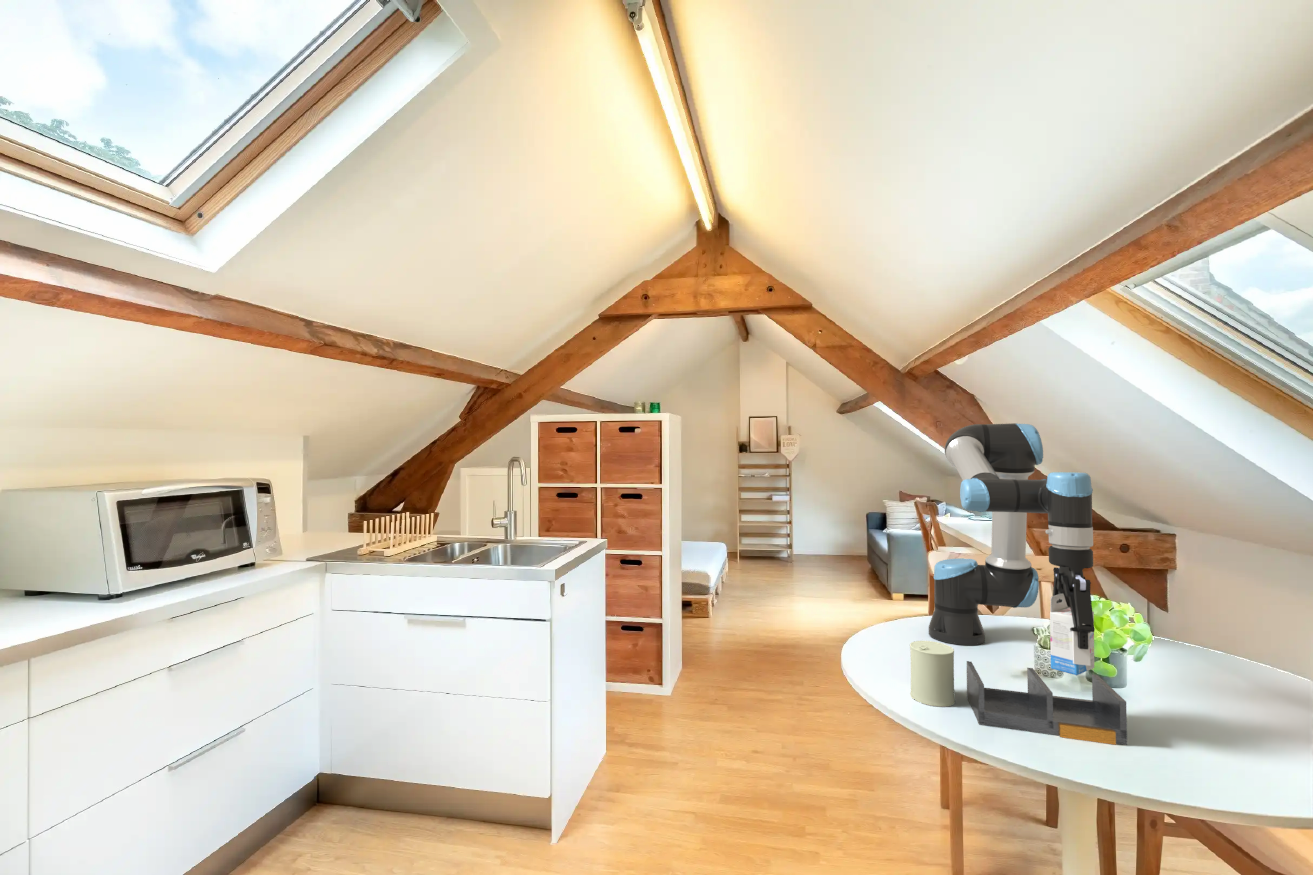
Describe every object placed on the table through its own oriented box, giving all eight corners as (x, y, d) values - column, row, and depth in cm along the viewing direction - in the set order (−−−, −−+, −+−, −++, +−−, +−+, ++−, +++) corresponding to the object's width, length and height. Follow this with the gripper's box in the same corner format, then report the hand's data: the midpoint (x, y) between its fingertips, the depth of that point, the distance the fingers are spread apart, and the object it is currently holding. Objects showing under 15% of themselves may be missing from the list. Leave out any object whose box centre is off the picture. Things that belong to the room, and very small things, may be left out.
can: (901, 693, 133) (900, 641, 134) (930, 687, 137) (929, 636, 137) (934, 709, 125) (933, 654, 125) (964, 702, 128) (963, 648, 129)
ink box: (1078, 676, 114) (1076, 601, 115) (1049, 668, 118) (1048, 596, 119) (1095, 667, 119) (1094, 596, 119) (1068, 660, 123) (1066, 591, 124)
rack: (967, 697, 131) (966, 660, 131) (1098, 713, 123) (1097, 674, 123) (979, 725, 117) (979, 685, 118) (1128, 746, 109) (1127, 702, 109)
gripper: (1034, 538, 131) (1036, 638, 130) (1067, 553, 110) (1069, 672, 110) (1073, 540, 129) (1075, 641, 128) (1114, 556, 108) (1117, 677, 107)
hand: (1072, 655), depth 119 cm, fingers closed on ink box, 9 cm apart
